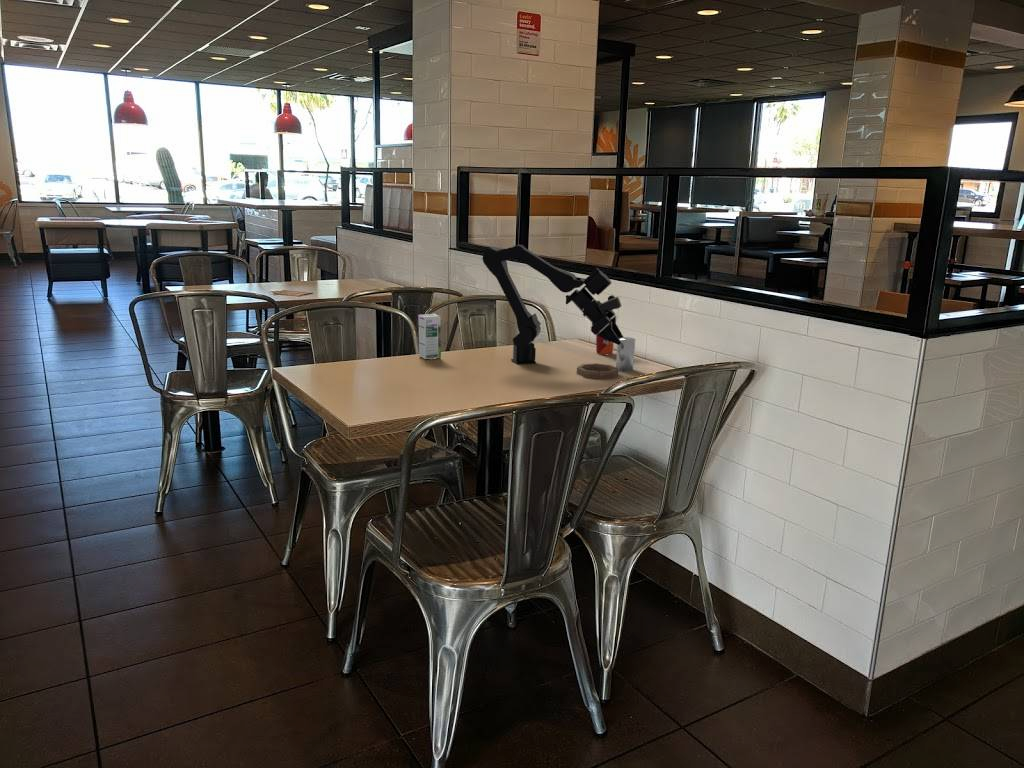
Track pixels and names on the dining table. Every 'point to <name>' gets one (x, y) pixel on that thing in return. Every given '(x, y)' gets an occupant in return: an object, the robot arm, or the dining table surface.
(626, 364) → the metal tumbler
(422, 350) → the syrup box
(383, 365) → the dining table surface
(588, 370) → the bore ring
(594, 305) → the robot arm
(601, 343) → the paper cup
